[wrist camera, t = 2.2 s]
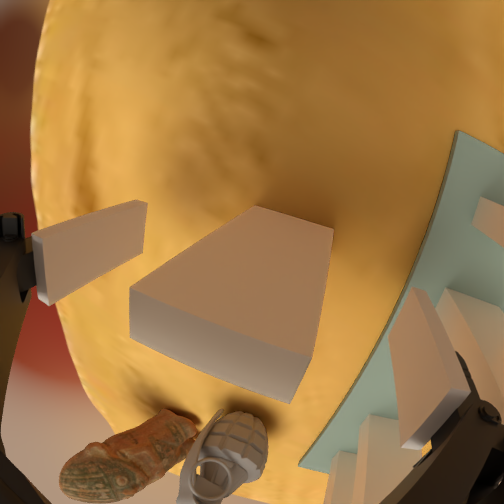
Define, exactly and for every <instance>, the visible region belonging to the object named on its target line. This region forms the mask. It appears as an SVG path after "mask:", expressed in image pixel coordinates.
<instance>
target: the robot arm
mask: <svg viewBox="0 0 504 504" xmlns="http://www.w3.org/2000/svg"><path fill="white" fill-rule="evenodd" d="M147 205H148V203H146V202H142V201H139V200H133V201H129V202H126V203H122V204H119V205H115V206H112V207H109V208H105V209H102V210H99V211H96V212H92V213H89V214H86V215H83V216H80V217H77V218H74V219H71V220H68V221H65V222H62V223H59V224H56V225H53V226H50V227H47V228H44V229H41V230H39V231H36V232H33V233H32V236H31V237H29V238H25V228H24V215H23V214H21V213H16V212H10V213H4V214H1V215H0V432H1V421H2V414H3V407H4V401H5V395H6V389H7V384H8V379H9V374H10V369H11V365H12V361H13V357H14V353H15V349H16V344H17V341H18V338H19V334H20V331H21V327H22V324H23V321H24V317H25V314H26V311H27V308H28V305H29V302H30V299H31V288H32V287H34V286H35V285H36V286H37V293H38V298H39V299H40V300H41V301H43V302H44V303H46V304H47V305H48V306H50V305H52V304H54V303H55V302H57V301H59V300H60V299H62V298H64V297H65V296H67V295H69V294H70V293H72V292H74V291H76V290H77V289H79V288H81V287H82V286H84V285H86V284H88V283H89V282H91V281H93V280H95V279H96V278H98V277H100V276H102V275H103V274H105V273H107V272H109V271H111V270H112V269H114V268H116V267H118V266H119V265H121V264H123V263H125V262H127V261H129V260H130V259H132V258H134V257H136V256H138V255H140V254H141V253H143V243H144V232H145V222H146V213H147ZM388 341H389V347H390V353H391V360H392V367H393V374H394V381H395V389H396V398H397V408H398V418H399V431H400V446H401V448H407V449H415V450H420V449H421V448H422V447H423V446H424V445H425V444H426V443H427V442H428V441H429V440H430V439H431V445H432V449H431V450H430V451H429V452H428V453H427V454H426V455H424V456H423V457H422V458H421V459H420V460H419V461H418V462H417V463H416V464H415V465H414V466H413V470H412V471H411V472H410V473H409V474H408V475H407V476H406V477H405V478H404V479H403V480H402V481H401V482H400V483H399V485H398V486H397V487H396V488H395V489H394V490H393V491H392V492H391V493H390V494H389V495H388V496H386V497H385V498H384V499H383V500H382V501H381V502H380V503H379V504H504V425H503V424H501V423H502V419H501V416H500V413H499V412H498V410H497V409H496V408H495V407H494V406H493V405H492V404H491V403H489V402H487V401H485V400H481V399H480V397H479V394H478V391H477V389H476V386H475V384H474V381H473V379H471V377H472V376H471V374H470V372H469V371H468V370H469V369H468V367H467V364H466V362H465V360H464V359H463V358H462V357H461V355H460V354H459V353H458V352H457V351H454V348H453V346H452V344H451V341H450V339H449V337H448V335H447V333H446V330H445V328H444V326H443V324H442V322H441V320H440V318H439V316H438V314H437V312H436V310H435V308H434V306H433V304H432V302H431V300H430V298H429V296H428V294H427V292H426V291H424V290H421V289H418V288H415V287H411V290H410V292H409V294H408V296H407V298H406V300H405V303H404V305H403V307H402V309H401V311H400V313H399V315H398V317H397V319H396V321H395V323H394V325H393V327H392V329H391V331H390V333H389V335H388ZM500 481H501V483H500V484H499V482H500ZM0 504H51V502H50V501H49V500H48V499H47V498H46V497H45V496H44V495H43V494H41V492H40V491H39V490H38V489H37V488H36V487H35V486H34V485H33V484H32V483H31V482H30V481H29V480H28V479H27V477H26V476H25V475H24V474H23V473H22V472H21V471H19V470H18V468H16V467H15V466H14V464H12V463H11V461H10V460H9V459H8V458H7V457H6V454H5V449H4V445H3V442H2V439H1V433H0Z"/></svg>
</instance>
